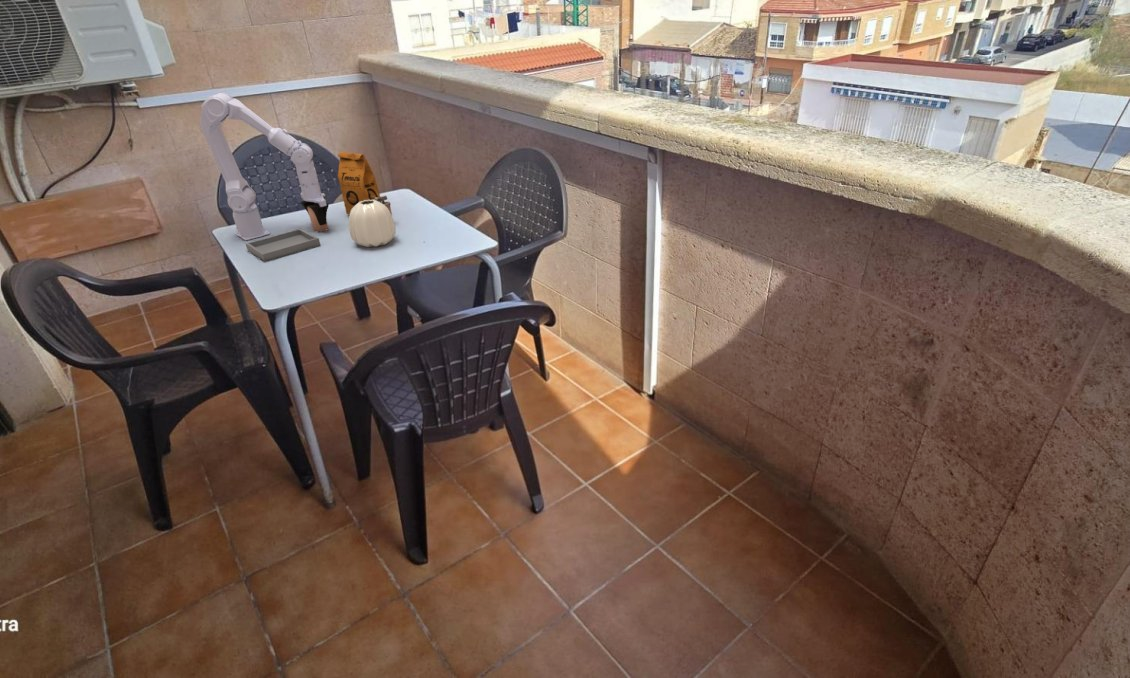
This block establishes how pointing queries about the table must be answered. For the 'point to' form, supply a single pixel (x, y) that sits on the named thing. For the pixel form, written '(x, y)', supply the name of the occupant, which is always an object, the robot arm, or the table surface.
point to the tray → (282, 244)
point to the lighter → (384, 202)
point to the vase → (371, 224)
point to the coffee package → (356, 180)
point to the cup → (316, 221)
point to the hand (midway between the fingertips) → (319, 222)
